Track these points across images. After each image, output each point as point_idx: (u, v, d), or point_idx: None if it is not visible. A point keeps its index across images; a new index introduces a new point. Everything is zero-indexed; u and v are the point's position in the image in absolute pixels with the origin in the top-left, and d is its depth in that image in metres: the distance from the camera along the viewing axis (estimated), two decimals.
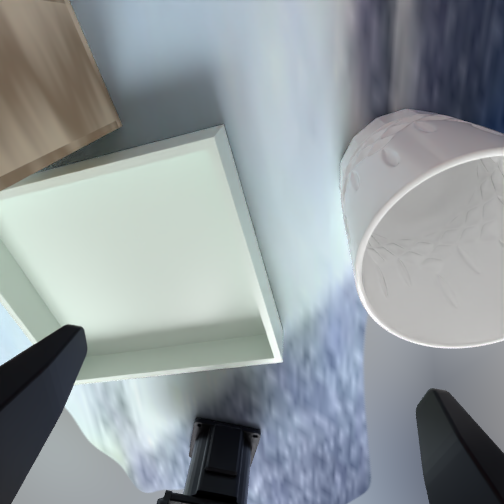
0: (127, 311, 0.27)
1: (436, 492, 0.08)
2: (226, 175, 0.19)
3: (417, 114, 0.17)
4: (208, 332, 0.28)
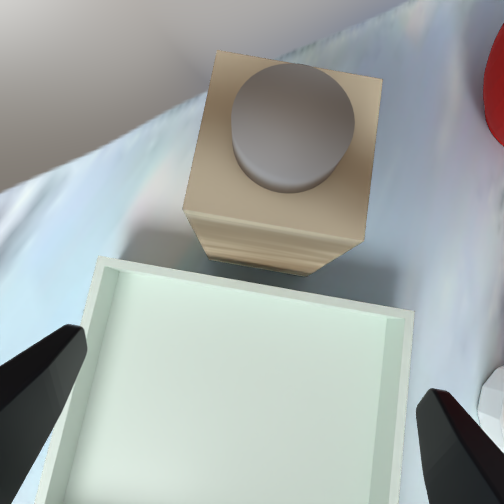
0: (181, 478, 0.20)
1: (436, 492, 0.08)
2: None
3: None
4: None
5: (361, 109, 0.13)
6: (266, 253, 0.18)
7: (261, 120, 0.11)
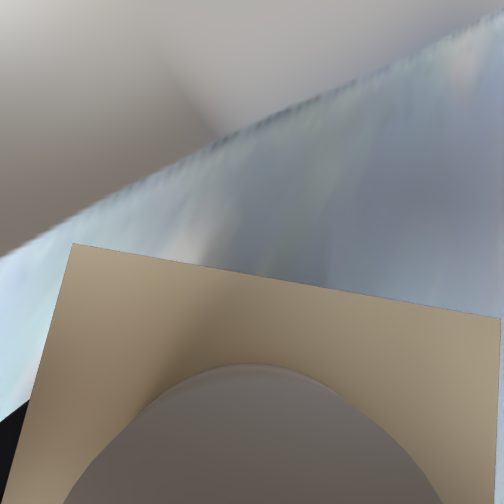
0: None
1: None
2: None
3: None
4: None
5: (450, 412, 0.05)
6: None
7: None
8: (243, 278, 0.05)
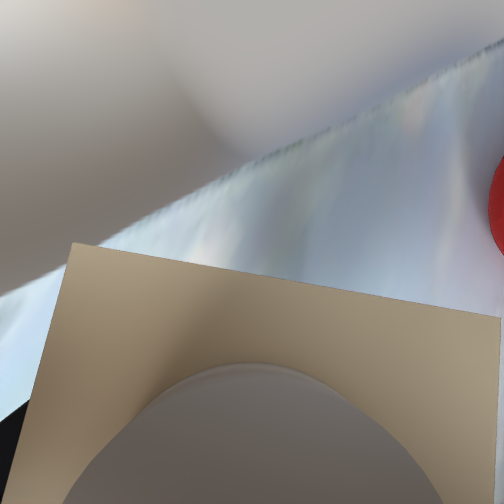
0: None
1: None
2: None
3: None
4: None
5: (450, 411, 0.05)
6: None
7: None
8: (243, 277, 0.05)
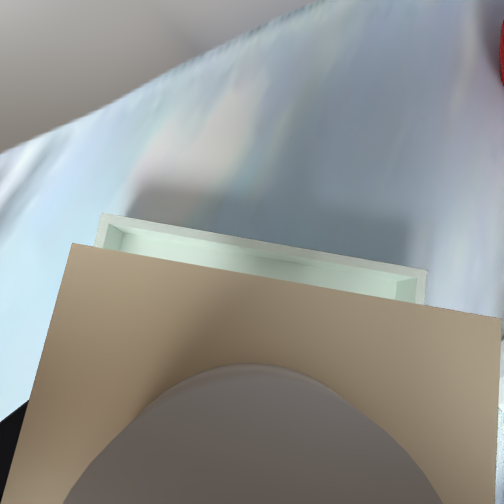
0: None
1: None
2: None
3: None
4: None
5: (451, 412, 0.05)
6: None
7: None
8: (243, 278, 0.05)
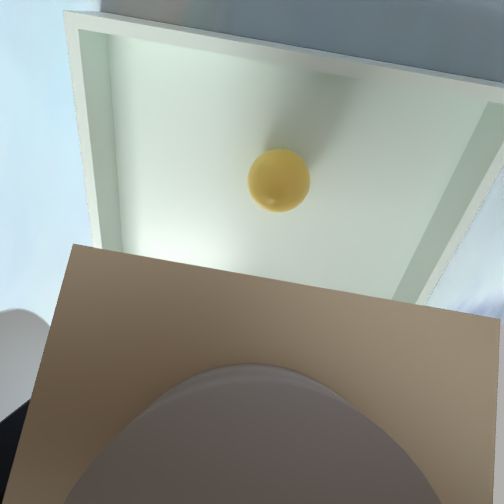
0: (222, 255, 0.22)
1: None
2: None
3: None
4: None
5: (449, 412, 0.05)
6: None
7: None
8: (243, 279, 0.05)
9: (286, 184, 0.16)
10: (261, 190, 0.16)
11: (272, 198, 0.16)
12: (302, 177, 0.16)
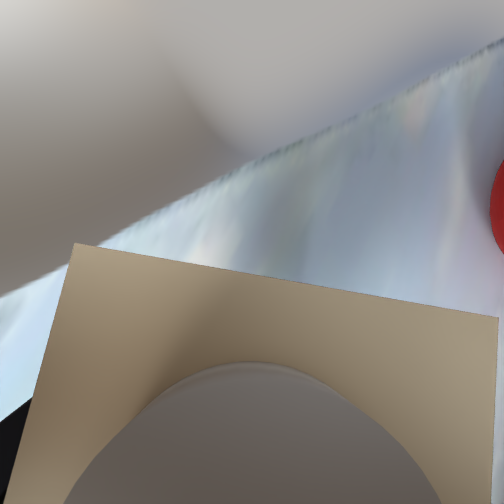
0: None
1: None
2: None
3: None
4: None
5: (448, 410, 0.05)
6: None
7: None
8: (243, 277, 0.05)
9: None
10: None
11: None
12: None
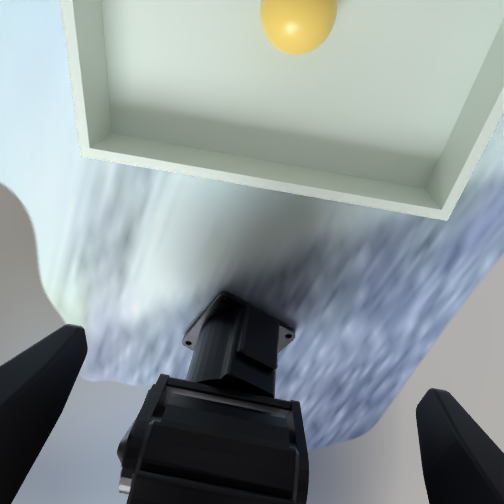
0: (235, 69, 0.17)
1: (436, 492, 0.08)
2: None
3: None
4: (335, 155, 0.18)
5: None
6: None
7: None
8: None
9: None
10: None
11: None
12: (315, 47, 0.15)
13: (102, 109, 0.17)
